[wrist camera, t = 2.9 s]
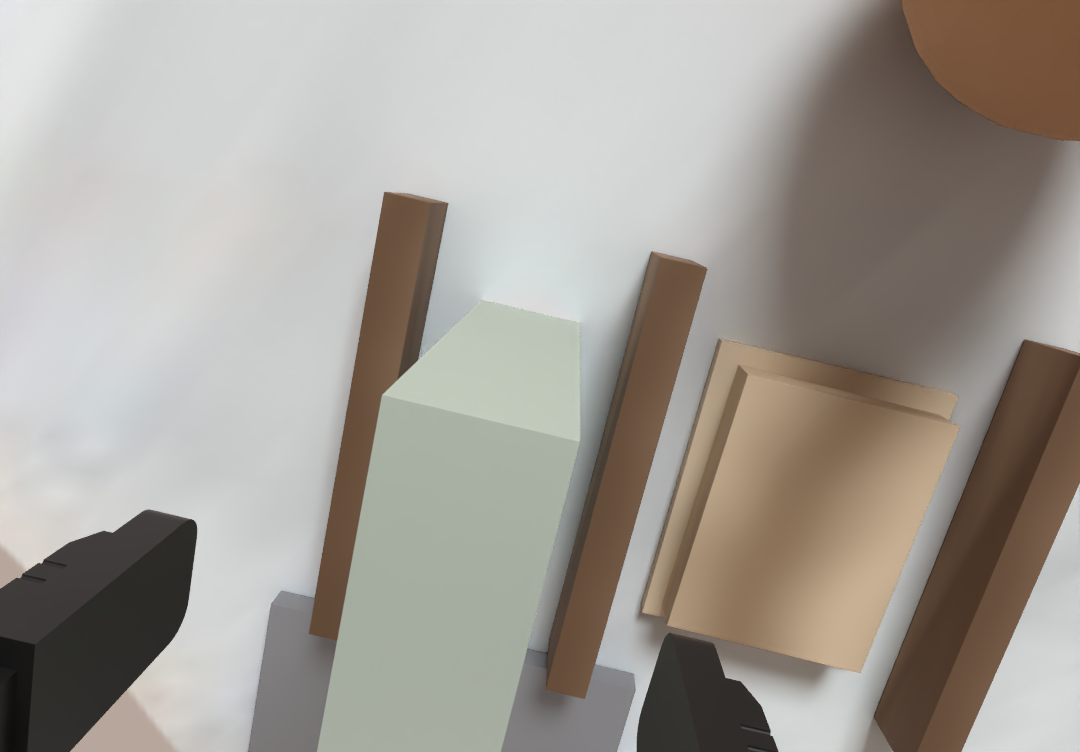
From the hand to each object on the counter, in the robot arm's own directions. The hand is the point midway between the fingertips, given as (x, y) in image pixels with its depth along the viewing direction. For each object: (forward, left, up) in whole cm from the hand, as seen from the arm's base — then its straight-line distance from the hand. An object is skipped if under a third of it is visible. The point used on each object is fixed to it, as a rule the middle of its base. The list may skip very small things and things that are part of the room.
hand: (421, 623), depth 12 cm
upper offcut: (-9, 0, -10) cm, 14 cm away
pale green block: (0, 0, -11) cm, 11 cm away
